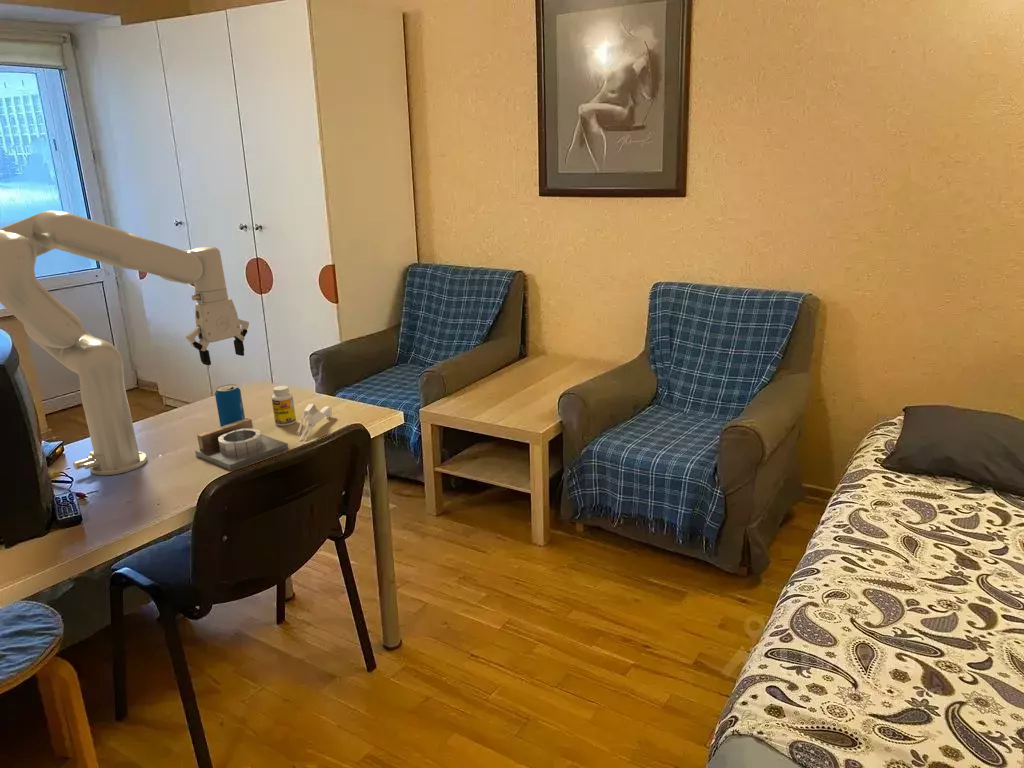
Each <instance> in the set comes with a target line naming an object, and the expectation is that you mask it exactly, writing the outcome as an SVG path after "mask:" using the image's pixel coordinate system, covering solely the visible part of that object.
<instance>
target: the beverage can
mask: <svg viewBox="0 0 1024 768" xmlns="http://www.w3.org/2000/svg"><path fill="white" fill-rule="evenodd" d="M214 394H215V395H214V396H215V402H216V408H217V414H218V419H219V424H220V426H219V427H222V426H225V425H228V424H231V423H234V422H237V421H240V420H243V419H246V417H245V410H244V404H243V399H242V392H241V389H240V388H239V385H238V384H233V383H230V384H229V383H228V384H223V385H219V386H217V387H216V388H215V392H214Z"/></svg>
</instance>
